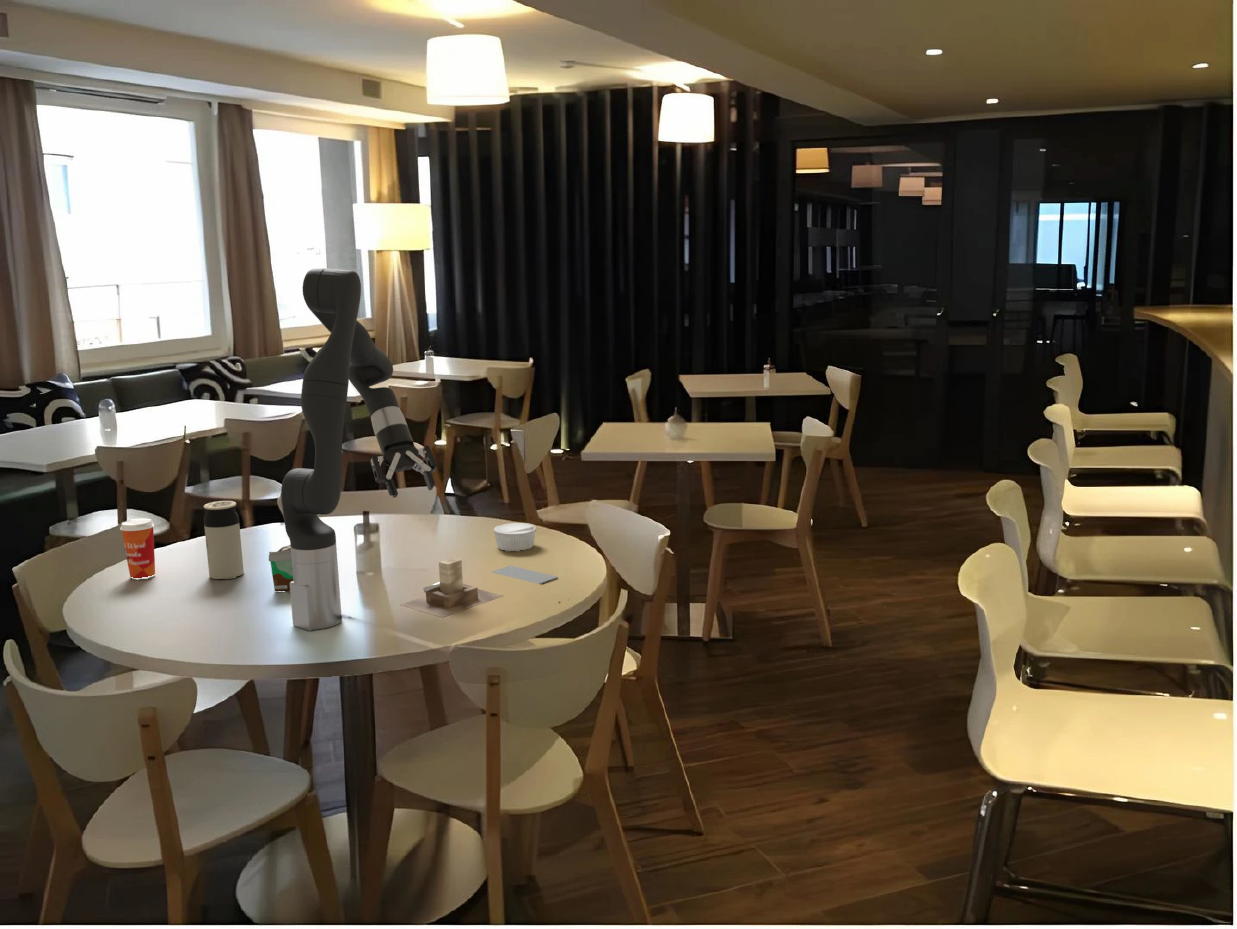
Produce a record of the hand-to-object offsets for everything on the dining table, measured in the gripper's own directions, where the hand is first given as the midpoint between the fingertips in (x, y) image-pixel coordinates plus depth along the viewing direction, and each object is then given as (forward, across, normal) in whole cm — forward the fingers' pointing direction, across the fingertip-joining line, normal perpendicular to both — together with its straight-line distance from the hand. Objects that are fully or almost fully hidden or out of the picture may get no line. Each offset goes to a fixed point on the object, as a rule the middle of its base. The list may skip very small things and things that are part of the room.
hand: (413, 492), depth 243 cm
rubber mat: (+22, +19, +12) cm, 31 cm away
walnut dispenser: (+26, +1, +5) cm, 27 cm away
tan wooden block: (+26, +1, +4) cm, 26 cm away
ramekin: (+8, +34, +34) cm, 48 cm away
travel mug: (-7, -36, +45) cm, 58 cm away
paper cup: (-15, -53, +53) cm, 77 cm away
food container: (+5, -24, +30) cm, 39 cm away
